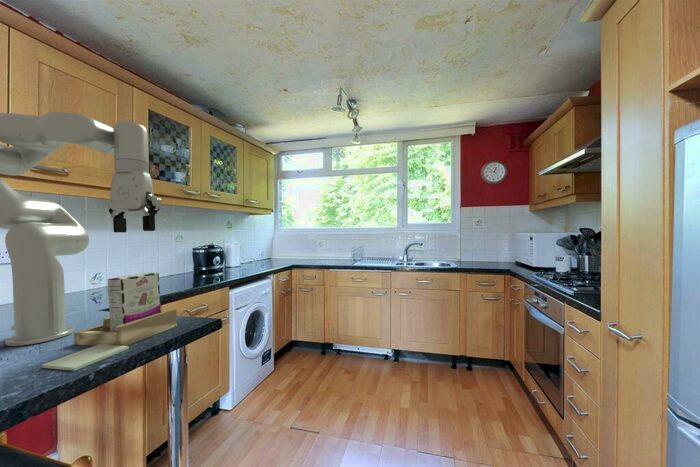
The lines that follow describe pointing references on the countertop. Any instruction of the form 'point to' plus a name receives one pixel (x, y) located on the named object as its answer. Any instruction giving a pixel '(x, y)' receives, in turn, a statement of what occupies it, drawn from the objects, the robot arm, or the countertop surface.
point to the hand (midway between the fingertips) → (134, 231)
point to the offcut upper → (106, 322)
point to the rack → (128, 330)
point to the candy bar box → (133, 298)
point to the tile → (85, 357)
